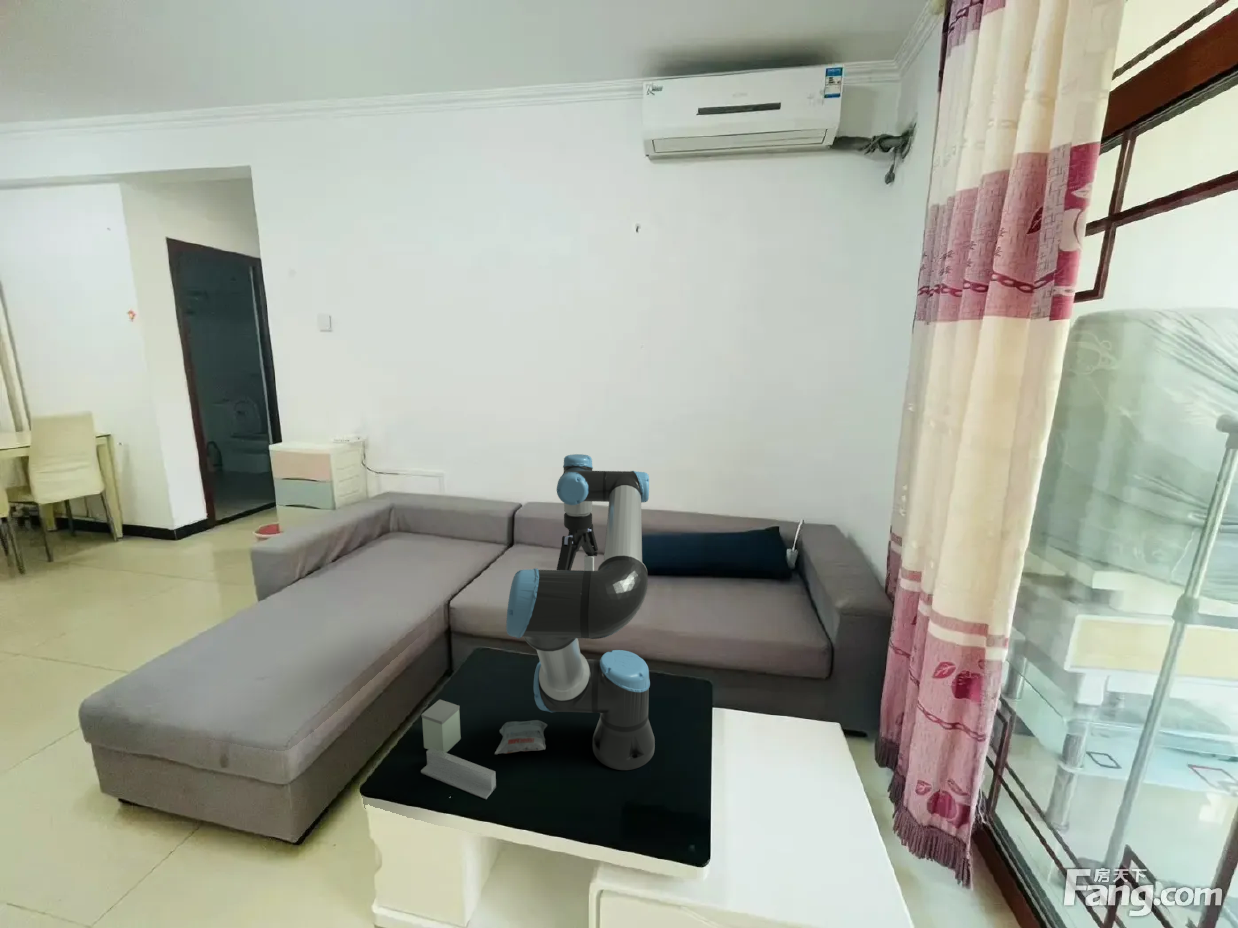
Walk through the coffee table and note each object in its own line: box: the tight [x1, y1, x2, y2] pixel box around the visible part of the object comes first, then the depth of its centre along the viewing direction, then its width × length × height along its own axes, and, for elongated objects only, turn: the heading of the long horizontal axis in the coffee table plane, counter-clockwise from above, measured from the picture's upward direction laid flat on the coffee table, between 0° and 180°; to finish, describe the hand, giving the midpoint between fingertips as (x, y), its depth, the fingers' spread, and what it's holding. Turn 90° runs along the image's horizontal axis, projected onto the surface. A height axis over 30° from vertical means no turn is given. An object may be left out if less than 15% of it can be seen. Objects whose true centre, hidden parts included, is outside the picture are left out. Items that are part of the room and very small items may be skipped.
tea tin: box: [420, 699, 462, 753], centre depth 124 cm, size 6×6×9 cm
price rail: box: [420, 747, 497, 800], centre depth 114 cm, size 18×4×4 cm, turn 67°
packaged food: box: [494, 719, 548, 755], centre depth 124 cm, size 9×12×5 cm
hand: (578, 587), depth 140 cm, fingers open, 13 cm apart
